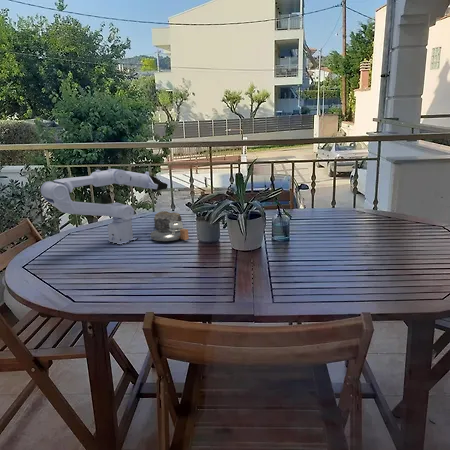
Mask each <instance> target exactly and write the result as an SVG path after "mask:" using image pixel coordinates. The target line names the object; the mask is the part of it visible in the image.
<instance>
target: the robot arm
mask: <svg viewBox="0 0 450 450" xmlns="http://www.w3.org/2000/svg"><path fill="white" fill-rule="evenodd" d="M113 184H116V185H119V186H120V185H125V186H130V187H138V188H142V189H151V192H153V193H156V192H158V191H162V190H167V189H168V183H166V182H163V181H162V180H161V181H160V180H159V178H157V177H156V176H153V175H150V172H149V171H142V172H141V173H140V172H134V171H129V170H124V169H117V168H107V169H106V170H101V169H95V171H93V172H91V174H90V175H85V176H75V177H73V176H72V177H65V178H60V179H59V178H57V179H54V180H52V181H50V180H49V181H48V180H47V181H45V182H43V184H42V185H41V187H40V193H41V196H42V197H43V199H44V201H46V202H48V203H49V204H50V205H51V206H53V207H54V208H56V209H57V210H58V211H59V212H61V213H63V214H69V215H83V216H84V215H86V216H97V217H98V216H100V217H101V216H102V217H110V218H111V217H112V221H111V222H109V223H108V225H107V234H108V241H110V242H113V243H112V244H114V243H117V244H122V242H125V241H129V240H132V239H133V237H134V234H133V221H132V220H133V217H134V214H135V210H134V208H133V206H132V205H129V204H123V203H120V202H113V203H97V202H85V201H73V200H72V198H71V195H70V194H71V193H72V192H73V190H74V189H75V188H78V187H84V186H89V185H92V186H94V187H95V188H97V187H104V186H110V185H113ZM110 242H109V243H110ZM117 244H116V245H117ZM122 245H123V244H122Z"/></svg>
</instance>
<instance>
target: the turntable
mask: <svg viewBox="0 0 450 450" xmlns="http://www.w3.org/2000/svg"><path fill="white" fill-rule="evenodd" d="M189 237H190V236H189V229H187V228H184V227H183V229H180V231H179V232H170V231H169V228H163V229H156V230H154V231H151V232H150V239H152V240H153V241H157V242H172V241H177V240H184V241H187V240H189Z"/></svg>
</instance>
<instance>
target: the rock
mask: <svg viewBox="0 0 450 450" xmlns="http://www.w3.org/2000/svg"><path fill="white" fill-rule="evenodd" d="M182 219H183V218H182V216H181V214H180V213H178V212H169V211H166V210H165V211H164V210H163V211H162V210H161V211H159V212H156V214H155V215H154V218H153V221H154V227H155V229H156V230H158V229H163V228H169V223H170V222H174V221H181V222H182Z"/></svg>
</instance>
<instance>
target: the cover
mask: <svg viewBox="0 0 450 450" xmlns="http://www.w3.org/2000/svg"><path fill="white" fill-rule="evenodd" d="M183 226H184V225H183V222H182V220H181V221H174V222H170V223H169V231H170V232H179V231H180V229H183V228H184V227H183Z"/></svg>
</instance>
